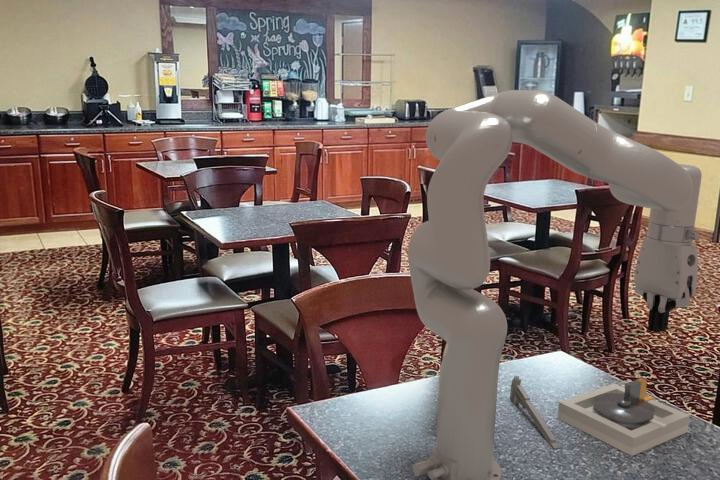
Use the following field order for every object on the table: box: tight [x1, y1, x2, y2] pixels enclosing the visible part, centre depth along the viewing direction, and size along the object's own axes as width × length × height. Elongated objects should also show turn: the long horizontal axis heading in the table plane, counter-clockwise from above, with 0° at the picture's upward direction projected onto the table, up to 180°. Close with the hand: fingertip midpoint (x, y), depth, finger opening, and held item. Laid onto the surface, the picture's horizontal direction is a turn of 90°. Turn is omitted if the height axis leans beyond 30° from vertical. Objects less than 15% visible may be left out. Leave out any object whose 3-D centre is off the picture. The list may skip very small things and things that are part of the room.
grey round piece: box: [593, 377, 654, 431], centre depth 134 cm, size 11×11×7 cm
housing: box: [557, 382, 691, 457], centre depth 134 cm, size 17×17×4 cm
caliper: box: [509, 375, 560, 450], centre depth 135 cm, size 20×1×6 cm, turn 11°
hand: (656, 330), depth 128 cm, fingers closed
